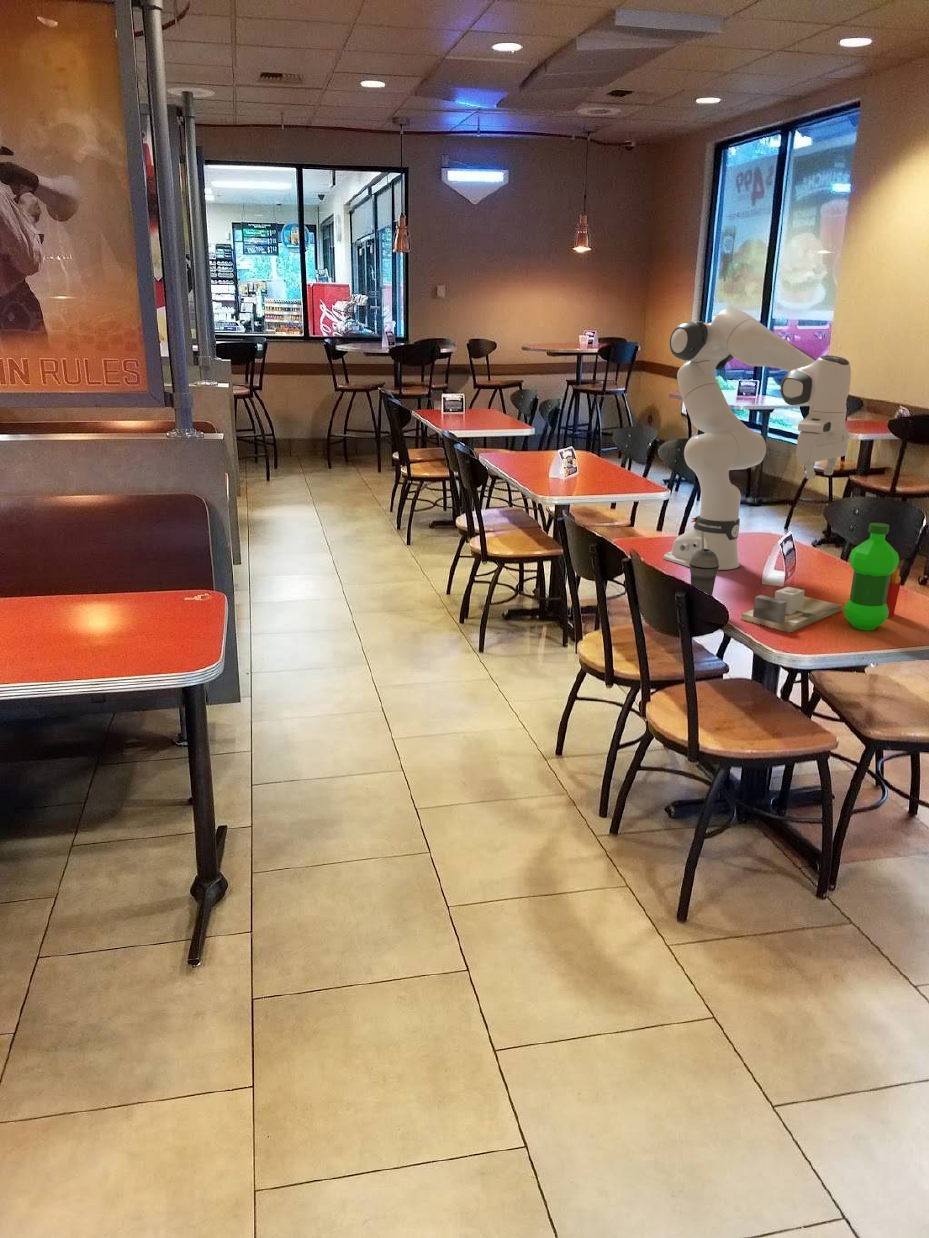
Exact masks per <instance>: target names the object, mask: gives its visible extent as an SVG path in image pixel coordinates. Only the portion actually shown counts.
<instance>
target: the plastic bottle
mask: <svg viewBox="0 0 929 1238" xmlns="http://www.w3.org/2000/svg"><path fill="white" fill-rule="evenodd" d="M867 531H868V532H869V534H870V535H869V538H868V539H866V540H864V541H863V542H861V543H860V544H858V545H857V546H855V547H854V548H852V551H851V553H850V554H849V565H850V566H851V568H852V569H853V575H852V581H851V582H852V583H851V588H850V589H851V590H850V595H849V599H848V600H847V601H846V603H845V605H844V606H843V613H844V617H845V618H846V620H847V621H848V622H849V623H850V624H851V626H852V627H853V628H855V629H858V630H862V631H874V630H876V628H878V627H880V626H881V625H883V624H884V623H885V622H886V621H887V619H888V618H889V617H888V615H889V610H888V607H887V604H886V599H887V593H888V587H889V581H890V574H891V573H892V572H894V571H895V570H898V569H897V568H898V566H899V562H900V557H899V552H897V551H896V550H895V548H893V546H892V545H891V544H890V543H889V542H888V541H886V535H887V534H889V532H890V525H889V524H888V523H882V522H870V523H869V524H868V530H867Z"/></svg>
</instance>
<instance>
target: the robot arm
mask: <svg viewBox="0 0 929 1238" xmlns="http://www.w3.org/2000/svg"><path fill="white" fill-rule="evenodd" d="M669 348H670V352H671V353H672V355H673V356H674V357H675V358H677V359H679V360H682V361H686V362H685V363H684V364H682V365H681V367H679V369H678V370H677V374H676V377H677V378H676V379H677V385H678V389H679V393H680V396H681V399H682V401H683V404H684V408H685V409H686V411H687V414H688V416H689V419H690V421H691V424H692V425H693V427H694V428H696V429H697V430H699V431H701V432H702V434H697V435H695V436H692V437H691V438H689V439H688V441H687V442H686V444H685V446H684V450H683V456H684V457H683V458H684V461H685V463H686V465H687V467H688V468H689V469H690V470H692V472H694V474H695V476H696V477H697V479H698V482H699V487H700V507H699V508H700V510H699V515H696V516H695V517H693V518H691V523H694V524H693V527H692V528H690V529H689V530H686V531H685V532H684V533H682V534H680V535H679V536H678V537H676V538H675V539H674V541H673V545H672V549H671V551H668V552H666V553H664V555H663V559H664V560H667V561H669V562H672V563H676V564H678V565H681V566H685V567H689V568H690V565H689V563H690V560H691V557H692V556H693V554H694V553H695V552H697V551H698V550H700V549H702V531H704V549H709V550H711V551H713V552H714V553H715V554H716V556H717V558H718V562H719V567H718V571H723V570H727V571H728V570H732V569H733V570H734V569H737V568H738V567H740V562H739V561H740V560H739V554H738V538H739V533H740V518H739V517H740V507H741V497H742V495H741V491H740V489H739V488H738V487H737V486H736V485H734V484H732V482H731V480H730V475H729V474H730V471H734V470H746V469H750V468H752V467H755V466H758V465H760V464H761V463H762V461H763V460H764V459H765V456H766V454H767V444H766V440H765V439H764V437H763V436H762V435H761V433H758V432H756V431H754V430H753V429H751V428H750V427H748V426H747V425H746V424H744V422H742V421H741V419H739V418H738V416H736V414H735V413H734V412H733V410H732V409H731V407H730V405H729V404H728V402H727V399H726V397H725V395H724V393H723V391H722V388H721V386H720V384H719V382H718V379H717V377H716V373H715V372H716V370H722V369H724V368H725V366H727V364H728V363H729V362H731V360H733V359H735V360H737V361H739V362H740V363H743V364H745V365H746V366H749V367H750V366H751V367H762V368H763V367H766V368H775V369H780V370H784V371H786V372H787V373H785V375H784V376H783V379H782V380H781V383H780V395H781V398H782V400H783V401H784V402H785V403H786V404H787V405H789V406H793V407H809V410H808V414H807V416H805V417H804V418H803V419H802V420H800V421H799V423H798V424H797V430H798V431H799V434H798V436H797V441H796V450H795V451H796V452H795V456H796V457H795V458H796V459H797V460H796V461H797V462H799V463H804V469H805V479H806V480H813V479H815V478H816V471H815V466H816V462H820V461H821V462H822V461H827V463H826V466H825V467H824V469H823V475H825V476H831V475H833V474H834V468H835V466H836V464H837V463H838V458H840V457H841V458H842V457H844V456H846V454H847V452H848V443H849V440H848V439H849V431H848V428H847V425H846V418H847V411H848V409H847V400H848V397H849V395H850V389H851V379H852V376H851V375H852V370H851V364H850V361H849V360H847V358H844V357H840V356H836V355H827V354H826V355H821V356H819V357H818V358H815V357H813V356H812V355H810V354H808V353H807V352H805V351H804V350H803V349H801V348H800V347H798V346H796V345H795V344H792V343H791V342H789V341H787V340H785V338H782V337H781V336H779V335H778V334H776V333H775V332H774V331H772V330H771V329H769V328H768V327H766V325H763V323H761V322H760V321H759V320H757V319H756V318H755V317H753V316H751V315H750V314H749V313H746V312H745V311H743V310H741V309H738V308H735V307H728V308H725V309H722V310H721V311H720V312H718V313H717V315H716V316H714V319H713V321H712V322H703V321H700V320H699V321H689V322H688V321H687V322H684V323H681V324H678V325H677V326H676V327H675V328H674V329H673V331H672V332H671V335H670V338H669Z"/></svg>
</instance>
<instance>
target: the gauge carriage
mask: <svg viewBox="0 0 929 1238" xmlns="http://www.w3.org/2000/svg"><path fill="white" fill-rule="evenodd" d="M804 596H805V590H804V589H800V588H796V587H792V586H786V587H783V588H781V589H777V590H775V593H774V598H775V599H779V600H783V601H787V605H786V613H785V614H788V615H791V614H793V613H795V612H799V613H803V614H807V615H811V614H808V613H804V612H800V610H802V606H803V599H804Z"/></svg>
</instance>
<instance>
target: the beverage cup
mask: <svg viewBox="0 0 929 1238" xmlns="http://www.w3.org/2000/svg"><path fill="white" fill-rule="evenodd" d="M689 565H690V567H689V573H690V586H691V585H693V586H694V587H697V588H698V589H700V590H702V591H703V592H705V593H707V594H709V595H712V596H713V593H714V587H715V582H716V578H717V574H718V572H719V570H718V567H719V562H718V558H717V556H716V554H715V553H714V552H713V551H711V550H709V549H704V531H702V549H700V550H698V551H697V552H695V553H694V554H693V556H692V557H691V560H690V563H689Z"/></svg>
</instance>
